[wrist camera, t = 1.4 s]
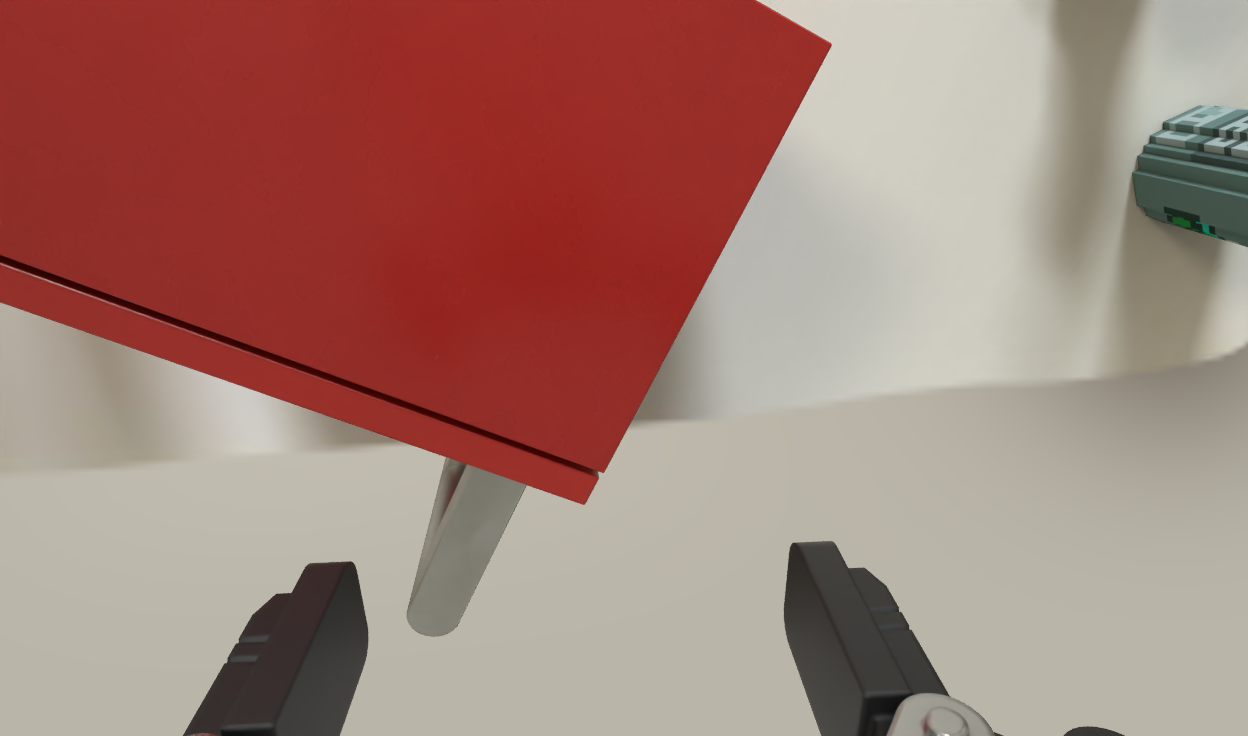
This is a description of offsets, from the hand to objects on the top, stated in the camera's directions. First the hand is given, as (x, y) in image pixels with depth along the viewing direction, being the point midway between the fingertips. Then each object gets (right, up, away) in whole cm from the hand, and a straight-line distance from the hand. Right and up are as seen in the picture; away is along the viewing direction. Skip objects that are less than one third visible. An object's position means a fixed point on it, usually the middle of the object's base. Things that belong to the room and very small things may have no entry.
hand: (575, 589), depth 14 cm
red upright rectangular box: (-7, +18, +22) cm, 30 cm away
